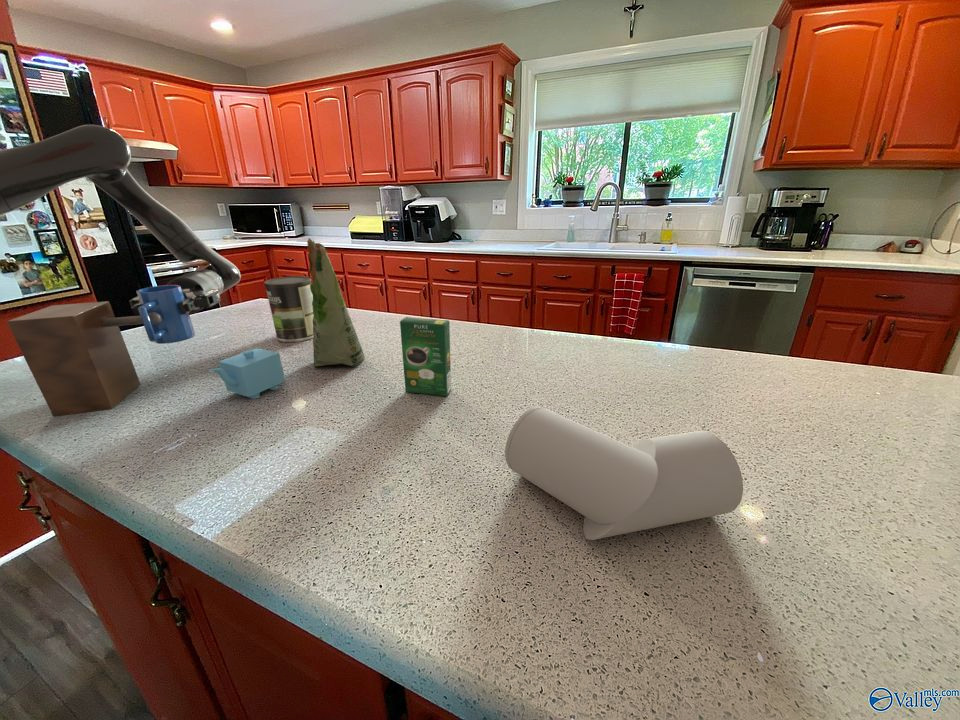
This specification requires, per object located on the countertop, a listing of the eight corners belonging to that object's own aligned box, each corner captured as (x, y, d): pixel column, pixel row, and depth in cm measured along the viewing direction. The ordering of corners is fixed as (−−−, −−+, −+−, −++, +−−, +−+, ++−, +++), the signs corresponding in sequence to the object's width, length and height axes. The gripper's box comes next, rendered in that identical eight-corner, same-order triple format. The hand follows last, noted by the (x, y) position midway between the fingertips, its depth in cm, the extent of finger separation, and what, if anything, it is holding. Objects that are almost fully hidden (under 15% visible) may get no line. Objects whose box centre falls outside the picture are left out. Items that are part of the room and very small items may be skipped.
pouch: (346, 375, 76) (324, 241, 67) (295, 369, 80) (267, 240, 70) (376, 355, 86) (361, 235, 77) (330, 350, 90) (309, 235, 80)
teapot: (231, 411, 64) (218, 368, 61) (209, 403, 67) (196, 362, 64) (293, 382, 74) (285, 344, 71) (271, 376, 77) (263, 340, 74)
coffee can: (287, 345, 93) (274, 286, 88) (270, 336, 100) (257, 280, 94) (328, 334, 100) (318, 279, 95) (309, 327, 107) (299, 274, 101)
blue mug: (163, 334, 77) (146, 286, 74) (200, 331, 79) (185, 283, 75) (134, 355, 67) (113, 300, 64) (177, 350, 69) (159, 296, 65)
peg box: (53, 416, 64) (6, 321, 58) (89, 390, 73) (52, 305, 67) (168, 401, 68) (136, 310, 62) (190, 378, 77) (163, 297, 71)
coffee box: (454, 390, 70) (450, 318, 65) (448, 397, 67) (444, 323, 62) (411, 386, 72) (404, 316, 67) (404, 393, 69) (397, 320, 64)
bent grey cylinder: (550, 582, 33) (753, 538, 37) (546, 464, 31) (759, 430, 35) (498, 485, 50) (640, 461, 54) (493, 405, 48) (640, 386, 52)
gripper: (148, 276, 82) (103, 293, 68) (226, 271, 86) (199, 286, 71) (160, 311, 85) (119, 334, 70) (234, 305, 89) (210, 326, 74)
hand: (159, 310), depth 71 cm, fingers closed on blue mug, 6 cm apart
